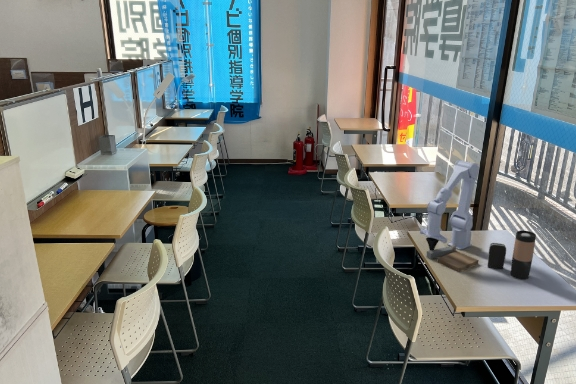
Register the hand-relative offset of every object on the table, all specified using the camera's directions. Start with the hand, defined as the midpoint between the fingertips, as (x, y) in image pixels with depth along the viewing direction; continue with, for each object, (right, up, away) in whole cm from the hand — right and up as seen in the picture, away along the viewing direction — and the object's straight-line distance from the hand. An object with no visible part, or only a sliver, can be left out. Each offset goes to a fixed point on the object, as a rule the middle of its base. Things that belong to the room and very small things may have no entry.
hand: (431, 251), depth 214 cm
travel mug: (+32, -8, -20) cm, 39 cm away
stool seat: (+9, -4, -6) cm, 12 cm away
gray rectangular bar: (+4, -2, -1) cm, 4 cm away
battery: (+25, -6, -11) cm, 28 cm away
